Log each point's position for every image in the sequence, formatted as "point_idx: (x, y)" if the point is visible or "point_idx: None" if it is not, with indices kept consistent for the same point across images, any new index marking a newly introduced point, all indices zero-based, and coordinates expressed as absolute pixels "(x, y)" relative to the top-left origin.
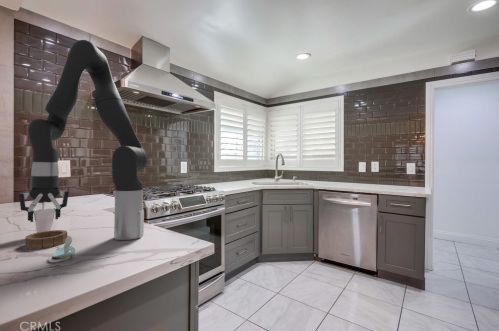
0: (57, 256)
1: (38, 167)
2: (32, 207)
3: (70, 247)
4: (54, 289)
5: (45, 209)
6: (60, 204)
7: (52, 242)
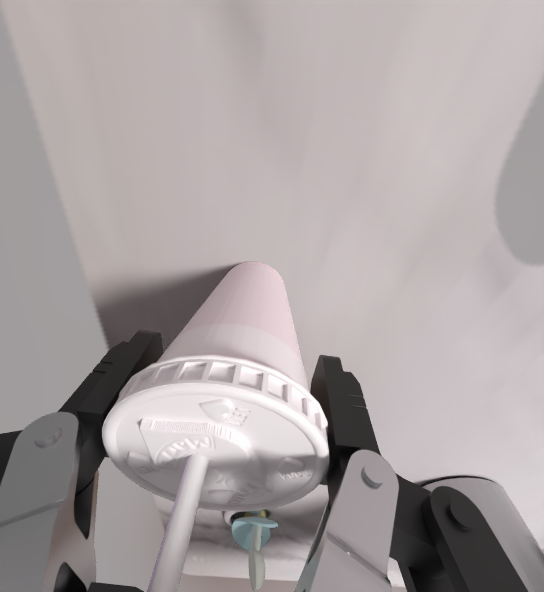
0: (236, 539)
1: None
2: (75, 522)
3: (270, 525)
4: (220, 564)
5: (220, 484)
6: (403, 533)
7: None
